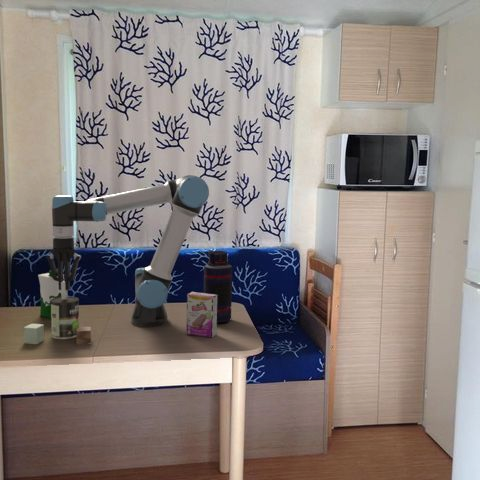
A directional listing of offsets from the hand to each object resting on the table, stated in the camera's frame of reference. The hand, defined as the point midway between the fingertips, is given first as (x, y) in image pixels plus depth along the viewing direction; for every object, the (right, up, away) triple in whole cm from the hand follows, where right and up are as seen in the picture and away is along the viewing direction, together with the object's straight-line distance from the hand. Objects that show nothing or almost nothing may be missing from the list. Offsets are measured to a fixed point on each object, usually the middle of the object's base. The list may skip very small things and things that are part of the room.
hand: (64, 298), depth 207 cm
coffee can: (0, -15, +2) cm, 15 cm away
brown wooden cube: (+9, -16, -5) cm, 19 cm away
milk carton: (-14, -11, +28) cm, 33 cm away
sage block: (-9, -15, -6) cm, 19 cm away
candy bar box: (+52, -15, +6) cm, 54 cm away
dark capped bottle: (+57, -12, +26) cm, 64 cm away
